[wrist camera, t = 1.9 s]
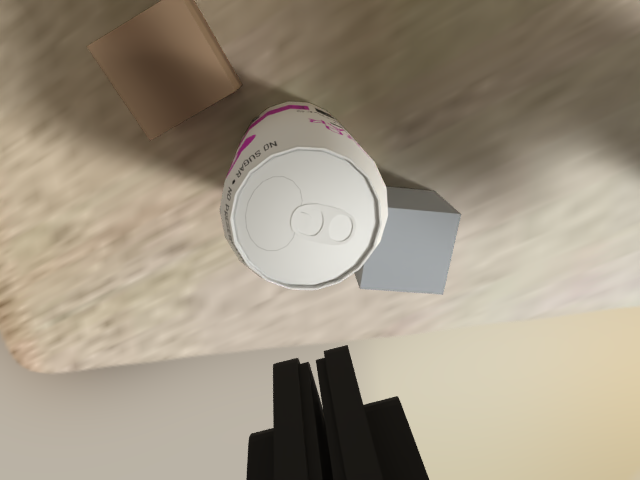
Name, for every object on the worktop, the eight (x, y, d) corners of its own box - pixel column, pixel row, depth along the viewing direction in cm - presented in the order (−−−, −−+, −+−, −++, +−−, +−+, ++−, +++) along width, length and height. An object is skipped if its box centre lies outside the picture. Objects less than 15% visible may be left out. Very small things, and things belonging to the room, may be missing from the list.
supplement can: (230, 198, 38) (203, 285, 24) (251, 87, 35) (235, 112, 21) (334, 220, 39) (367, 314, 25) (362, 114, 36) (416, 154, 22)
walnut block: (194, 0, 33) (177, -10, 27) (242, 84, 35) (236, 90, 29) (118, 47, 33) (86, 46, 28) (169, 126, 35) (150, 140, 30)
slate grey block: (434, 190, 39) (461, 214, 33) (420, 261, 41) (442, 294, 35) (358, 183, 38) (373, 206, 32) (348, 255, 40) (360, 288, 34)
